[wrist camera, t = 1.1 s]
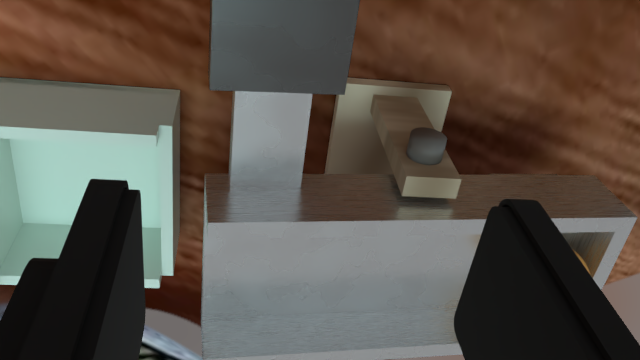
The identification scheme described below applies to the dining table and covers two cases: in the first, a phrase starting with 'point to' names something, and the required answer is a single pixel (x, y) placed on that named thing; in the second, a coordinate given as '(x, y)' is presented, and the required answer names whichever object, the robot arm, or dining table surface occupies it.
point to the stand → (394, 135)
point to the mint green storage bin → (85, 165)
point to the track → (344, 211)
